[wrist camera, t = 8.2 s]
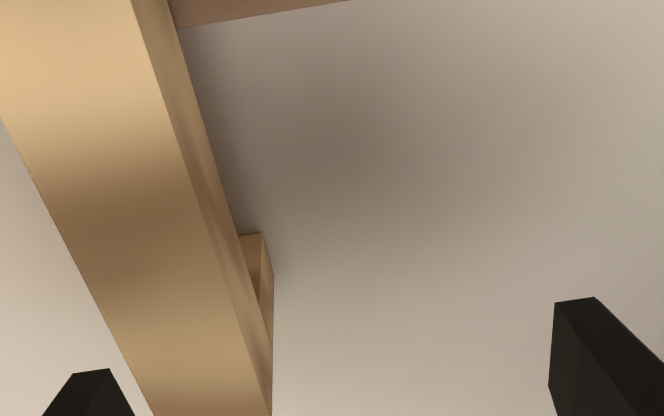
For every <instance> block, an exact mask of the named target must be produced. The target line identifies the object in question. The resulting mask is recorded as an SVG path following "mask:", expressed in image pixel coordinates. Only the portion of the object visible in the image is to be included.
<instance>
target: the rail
mask: <svg viewBox="0 0 664 416" xmlns="http://www.w3.org/2000/svg"><path fill="white" fill-rule="evenodd" d="M0 118H1V120H2V122H3V124H4V126H5V128H6V129H7V131H8V133H9V135H10V137H11V139H12V141H13V143H14V145H15V147H16V149H17V151H18V153H19V155H20V157H21V159H22V161H23V162H24V164H25V166H26V168H27V170H28V172H29V174H30V176H31V178H32V180H33V182H34V184H35V186H36V188H37V190H38V192H39V194H40V196H41V197H42V199H43V201H44V203H45V205H46V207H47V209H48V211H49V213H50V215H51V217H52V219H53V221H54V223H55V225H56V227H57V229H58V230H59V232H60V234H61V236H62V238H63V240H64V242H65V244H66V246H67V248H68V250H69V252H70V254H71V256H72V258H73V260H74V262H75V264H76V265H77V267H78V269H79V271H80V273H81V275H82V277H83V279H84V281H85V283H86V285H87V287H88V289H89V291H90V293H91V295H92V297H93V299H94V300H95V302H96V304H97V306H98V308H99V310H100V312H101V314H102V316H103V318H104V320H105V322H106V324H107V326H108V328H109V330H110V332H111V333H112V335H113V337H114V339H115V341H116V343H117V345H118V347H119V349H120V351H121V353H122V355H123V357H124V359H125V361H126V363H127V365H128V367H129V368H130V370H131V372H132V374H133V376H134V378H135V380H136V382H137V384H138V386H139V388H140V390H141V392H142V394H143V396H144V398H145V400H146V401H147V403H148V405H149V407H150V409H151V411H152V413H153V415H154V416H272V375H273V312H274V274H273V270H272V267H271V263H270V259H269V256H268V252H267V248H266V245H265V241H264V237H263V233H256V234H249V235H243V236H238V235H237V232H236V229H235V225H234V222H233V219H232V215H231V212H230V209H229V205H228V202H227V199H226V195H225V192H224V189H223V185H222V182H221V179H220V175H219V172H218V169H217V165H216V162H215V159H214V155H213V152H212V149H211V145H210V142H209V139H208V135H207V132H206V129H205V126H204V122H203V119H202V116H201V112H200V109H199V106H198V102H197V99H196V96H195V92H194V89H193V86H192V82H191V79H190V76H189V72H188V69H187V66H186V62H185V59H184V56H183V52H182V49H181V46H180V42H179V39H178V36H177V32H176V29H175V26H174V22H173V19H172V16H171V12H170V9H169V6H168V3H167V0H0Z"/></svg>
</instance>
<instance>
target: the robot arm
mask: <svg viewBox="0 0 664 416" xmlns="http://www.w3.org/2000/svg"><path fill="white" fill-rule="evenodd" d="M548 387H549V390H550V393H551V396H552V399H553V403H554V406H555V409H556V412H557V415H558V416H664V363H663V362H662V361H661V360H660V359H659V358H658V357H657V356H656V355H655V354H654V353H653V352H652V351H651V350H649V349H648V348H647V347H646V346H645V345H644V344H643V343H642V342H641V341H640V340H639V339H638V338H637V337H636V336H635V335H634V334H633V333H632V332H631V331H630V330H629V329H628V328H627V327H626V326H625V325H624V324H623V323H621V322H620V321H619V320H618V319H617V318H616V317H615V316H614V315H613V314H612V313H611V312H610V311H609V310H608V309H607V308H606V307H605V306H604V305H603V304H602V303H601V302H600V301H599V300H598V299H596V298H595V297H590V298H583V299H576V300H569V301H563V302H556V303H555V306H554V319H553V331H552V344H551V356H550V369H549V381H548ZM42 416H135V414H134V413H133V411H132V409H131V407H130V405H129V404H128V402H127V400H126V398H125V396H124V394H123V393H122V391H121V389H120V387H119V385H118V384H117V382H116V380H115V378H114V376H113V374H112V373H111V371H110V369H109V368H107V369H100V370H93V371H87V372H80V373H73V374H72V375H71V377H70V378H69V379H68V381H67V382H66V383H65V385H64V386H63V387H62V389H61V390H60V392H59V393H58V394H57V396H56V397H55V398H54V400H53V401H52V402H51V404H50V405H49V407H48V408H47V409H46V411H45V412H44V414H43V415H42Z"/></svg>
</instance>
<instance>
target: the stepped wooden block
mask: <svg viewBox="0 0 664 416" xmlns="http://www.w3.org/2000/svg"><path fill="white" fill-rule="evenodd" d="M342 1H348V0H167V3H168V6H169V9H170V12H171V16H172V19H173V22H174V26H175V29H179V28H185V27H191V26H197V25H203V24H209V23H215V22H221V21H227V20H233V19H239V18H245V17H251V16H257V15H263V14H269V13H275V12H281V11H287V10H293V9H299V8H305V7H311V6H317V5H323V4H329V3H336V2H342Z"/></svg>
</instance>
